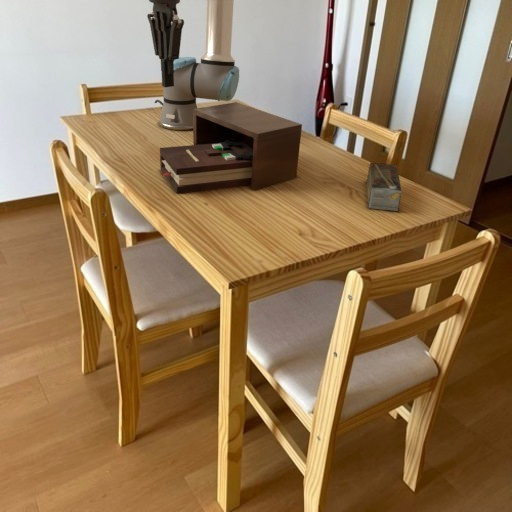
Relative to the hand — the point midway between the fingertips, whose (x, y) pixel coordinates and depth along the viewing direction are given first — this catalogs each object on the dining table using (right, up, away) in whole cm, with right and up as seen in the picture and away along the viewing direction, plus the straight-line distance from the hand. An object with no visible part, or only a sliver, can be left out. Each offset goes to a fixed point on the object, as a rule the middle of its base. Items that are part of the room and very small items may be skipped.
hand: (168, 86), depth 128 cm
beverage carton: (+58, -29, +4) cm, 65 cm away
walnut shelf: (+20, -19, +16) cm, 32 cm away
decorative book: (+11, -23, +9) cm, 27 cm away
